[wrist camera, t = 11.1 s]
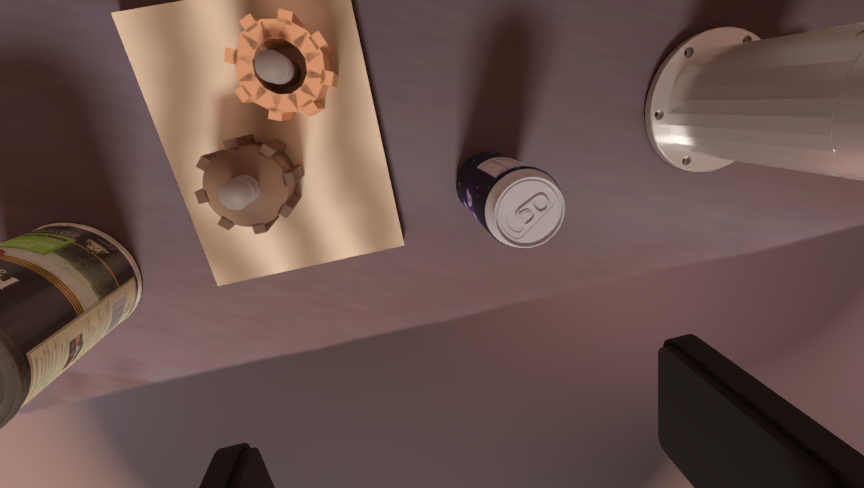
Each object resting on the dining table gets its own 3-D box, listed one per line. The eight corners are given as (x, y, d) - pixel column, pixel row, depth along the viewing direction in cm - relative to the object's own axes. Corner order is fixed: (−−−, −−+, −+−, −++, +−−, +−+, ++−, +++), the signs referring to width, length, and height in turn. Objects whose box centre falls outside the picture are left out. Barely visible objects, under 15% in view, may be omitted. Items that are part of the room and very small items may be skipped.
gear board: (345, -23, 32) (337, -65, 24) (403, 241, 40) (411, 275, 32) (120, 16, 31) (34, -14, 23) (222, 280, 39) (183, 326, 31)
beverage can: (442, 177, 38) (471, 207, 27) (491, 137, 38) (542, 151, 26) (477, 223, 40) (518, 269, 29) (525, 186, 40) (585, 218, 28)
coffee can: (-6, 223, 35) (-242, 297, 21) (129, 220, 36) (-13, 288, 23) (30, 333, 38) (-156, 457, 24) (153, 327, 39) (41, 441, 26)
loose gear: (299, 1, 31) (288, -15, 27) (356, 86, 34) (353, 83, 30) (223, 56, 32) (201, 49, 28) (285, 136, 34) (272, 141, 30)
